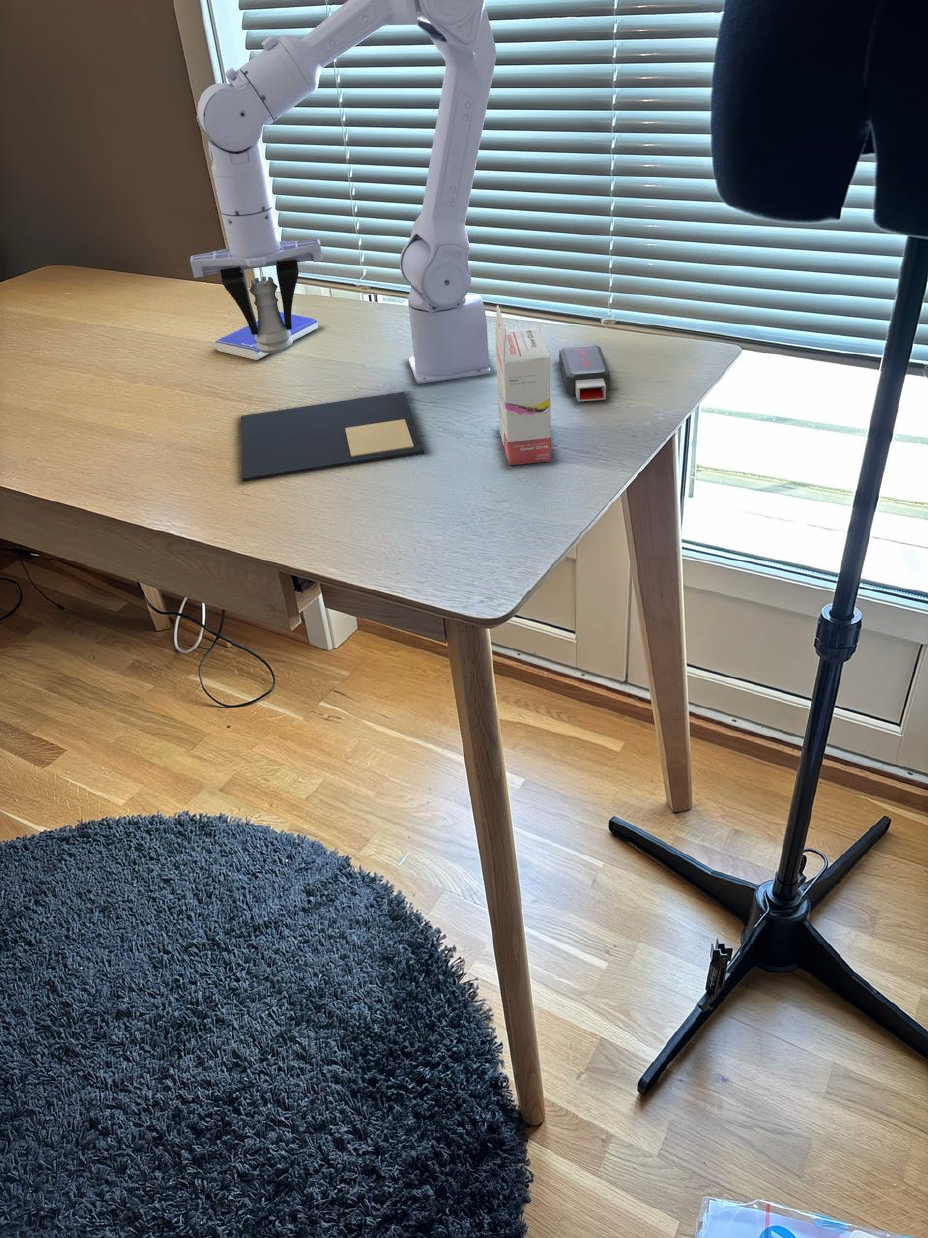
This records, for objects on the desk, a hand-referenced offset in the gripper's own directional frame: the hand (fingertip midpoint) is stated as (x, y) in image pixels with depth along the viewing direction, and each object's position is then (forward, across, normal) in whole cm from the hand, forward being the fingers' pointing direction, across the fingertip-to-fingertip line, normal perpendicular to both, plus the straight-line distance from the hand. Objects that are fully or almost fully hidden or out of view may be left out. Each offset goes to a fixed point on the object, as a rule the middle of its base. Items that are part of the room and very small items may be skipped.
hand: (271, 329), depth 113 cm
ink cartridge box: (+10, +26, -21) cm, 34 cm away
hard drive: (+10, -2, +22) cm, 24 cm away
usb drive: (+10, +36, -7) cm, 38 cm away
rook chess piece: (+2, 0, 0) cm, 2 cm away
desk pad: (+9, +4, -11) cm, 15 cm away
